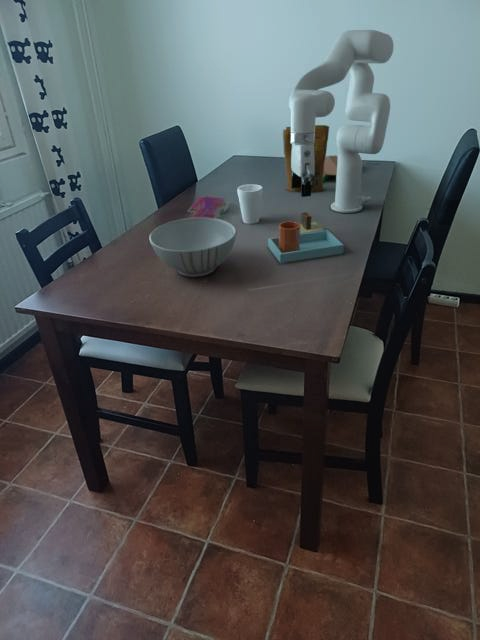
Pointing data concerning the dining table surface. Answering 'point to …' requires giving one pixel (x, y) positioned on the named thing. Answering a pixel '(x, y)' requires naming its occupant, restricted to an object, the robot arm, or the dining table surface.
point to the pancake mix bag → (319, 157)
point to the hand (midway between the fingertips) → (300, 192)
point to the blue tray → (309, 246)
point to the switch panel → (314, 228)
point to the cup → (289, 236)
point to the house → (330, 166)
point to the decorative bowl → (194, 244)
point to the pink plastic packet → (212, 204)
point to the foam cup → (250, 202)
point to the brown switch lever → (306, 221)
